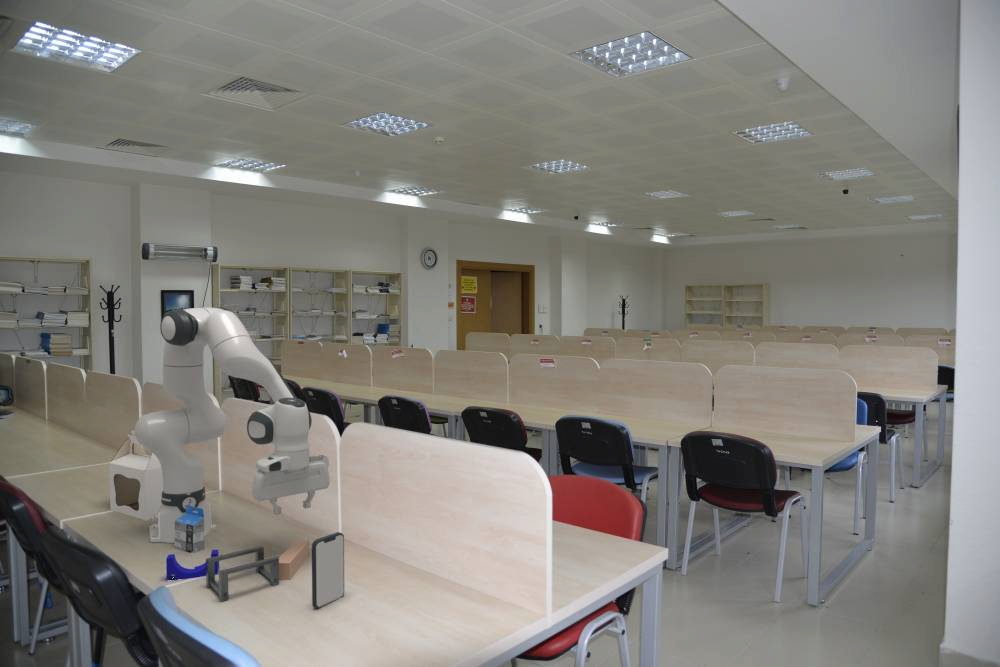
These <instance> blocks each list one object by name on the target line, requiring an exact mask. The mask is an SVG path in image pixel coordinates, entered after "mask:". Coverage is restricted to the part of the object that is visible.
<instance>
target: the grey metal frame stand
mask: <svg viewBox="0 0 1000 667" xmlns="http://www.w3.org/2000/svg"><path fill="white" fill-rule="evenodd" d="M254 553H255V561H254V562H249V563H243V564H241V565H237V566H233V567H229V568H224V569H221V570H220V569H219V571H218V582H217V581H216V575H215V562H217V561H219V562H222V561H225V560H229V559H234V558H237V557H241V556H245V555H249V554H250V555H251V554H254ZM205 562H206V576H205V578H206V579H205V580H206V581H205V583H206V584H205V585H206V586H205V587H206V588H208V589H210V588H213V589H214V590H215V591H216V593H218V596H219V597H218V598H219V599H218V600H219V602H221V603H222V602H226V601H229V575H231V574H234V573H238V572H239V573H240V572H243V571H246V570H250V569H255V572H256V573H257V574H262V575H264V576H265V577H266V578H267V579H269V580H270V586H272V587H276V586H279V585H280V580H279V557H278V556H272V557H269V558H265V547H264V546H263V545H258V546H257V545H256V546H253V547H249V548H246V549H241V550H238V551H237V550H236V551H233V552H228V553H224V554H219V556H215V557H211V556H210V557H207V558H205ZM269 564H270V565H269ZM266 565H269V566H270V567H269V568H270V569H267V568H266V567H265V566H266Z"/></svg>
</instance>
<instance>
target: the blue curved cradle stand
mask: <svg viewBox="0 0 1000 667" xmlns="http://www.w3.org/2000/svg"><path fill="white" fill-rule="evenodd" d="M219 552H220V551H219V548H218V549H212V551H211V553H210V558H211V557H215V556H220V554H219ZM165 562H166V566H165V568H166V581H167V580H174V581H179V580H178V579H182V580H190V579H195V578H197V579H198V578H202V577H206V561H205V562H204V563H202V564H200V565H197V566H194V567H193V568H187V567H184V566H182V565H181V564H180V563H179V562H178V561H177V559H176V554H175V553H172V554H168V555H167V557H166V560H165ZM219 571H220V561H217V562H215V576H217V575H219ZM173 577H174V578H173ZM172 578H173V579H172ZM189 578H190V579H189Z"/></svg>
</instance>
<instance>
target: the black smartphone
mask: <svg viewBox="0 0 1000 667" xmlns="http://www.w3.org/2000/svg"><path fill="white" fill-rule="evenodd" d="M311 586H312V587H311V591H312V592H311V602H312V603H311V604H312V607H314V608H315V609H321V608H323V607H326V606H327V605H329V604H332V603H333V602H335V601H337V600H339V599H342V598H343V597H344V596H345V537H344V534H343V533H342V532H340V531H337V532H334V533H331V534H328V535H325V536H322V537H320V538H319V537H318V538H317V539H314V540H313V541H312V543H311Z"/></svg>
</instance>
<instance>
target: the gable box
mask: <svg viewBox="0 0 1000 667" xmlns="http://www.w3.org/2000/svg"><path fill="white" fill-rule="evenodd" d="M127 436H128V438H127V439H126V440H125V441H124V442H123V444H122V445H121V446H120V448H119V449H118V450H117V452H116V453H115V455H114V456H113V458H112V459H111V461H110V462H109V466H108V467H109V469H108V470H109V498H110V499H109V501H110V502H109V507H110V508H109V510H110V511H114V512H116V513H120V514H123V515H127V516H129V517H133V518H135V519H139V520H143V521H149V520H151V515H157V510H158V509H159V507H160V506H161V504H162V503H161V495H162V491H163V475H162V468H161V464H160V462H159V460H158V458H157V457H156V456H155V454H154V453H153V452H151V455H148V454H147V453H146V451H145V450H144V447H143V446H142V445H141V444H140V443H139V442H138V441H137V439H136V436H135V429H133V430H131V433H127ZM135 503H138V510H136V509H134V508H133V507H131V506H130V505H132V504H135Z"/></svg>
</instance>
